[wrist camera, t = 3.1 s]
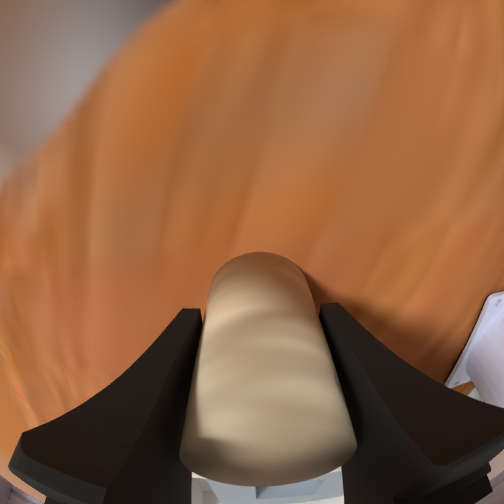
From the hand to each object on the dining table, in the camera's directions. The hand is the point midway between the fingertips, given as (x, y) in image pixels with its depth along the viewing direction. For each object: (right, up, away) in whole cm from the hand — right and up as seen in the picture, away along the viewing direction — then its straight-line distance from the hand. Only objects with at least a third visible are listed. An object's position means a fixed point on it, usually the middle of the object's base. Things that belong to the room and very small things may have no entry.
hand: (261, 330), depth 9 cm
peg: (0, +1, +2) cm, 2 cm away
